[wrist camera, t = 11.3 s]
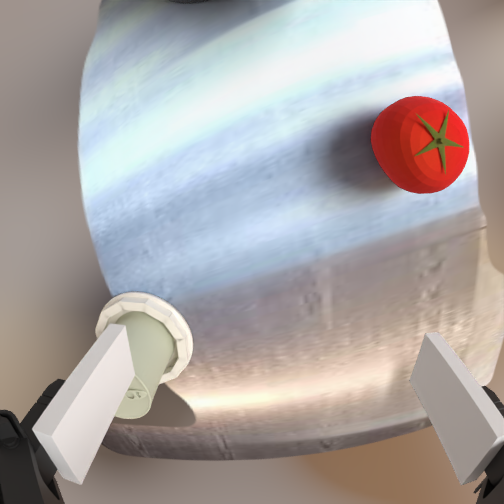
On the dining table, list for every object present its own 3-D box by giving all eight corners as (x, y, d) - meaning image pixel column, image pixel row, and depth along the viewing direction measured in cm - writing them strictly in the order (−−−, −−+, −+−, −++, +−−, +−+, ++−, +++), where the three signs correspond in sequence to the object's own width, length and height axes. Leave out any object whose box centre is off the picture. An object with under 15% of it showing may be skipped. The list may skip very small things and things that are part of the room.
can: (181, 365, 43) (160, 424, 32) (124, 365, 44) (94, 418, 33) (166, 309, 41) (135, 362, 29) (106, 312, 41) (65, 359, 30)
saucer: (92, 288, 41) (84, 295, 39) (189, 293, 41) (185, 302, 39) (110, 370, 46) (105, 378, 43) (197, 380, 45) (194, 390, 43)
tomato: (450, 152, 34) (501, 156, 24) (397, 203, 37) (439, 222, 26) (402, 85, 32) (445, 67, 22) (343, 136, 35) (374, 130, 24)
